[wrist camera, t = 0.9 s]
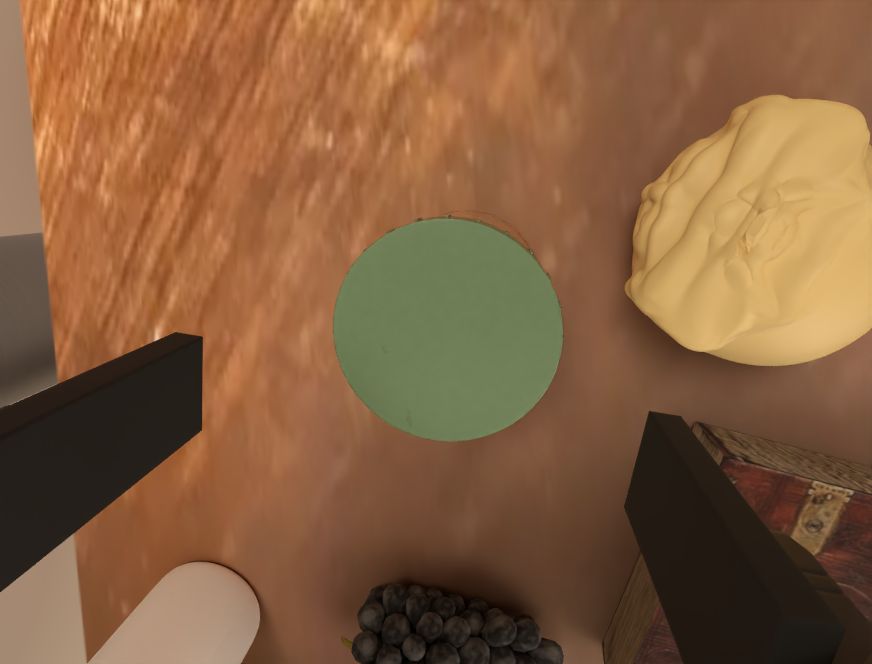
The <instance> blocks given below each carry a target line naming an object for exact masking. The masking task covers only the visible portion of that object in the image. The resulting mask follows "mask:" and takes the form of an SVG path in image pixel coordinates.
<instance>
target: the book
mask: <svg viewBox="0 0 872 664" xmlns="http://www.w3.org/2000/svg"><path fill="white" fill-rule="evenodd" d="M692 432H693V433H694V434H695V435H696V437H697V438H698V439H699V441H700V442H701V443H702V444H703V446H704V447H705V448H706V450H707V451H708V452H709V453H710V455H711V456H712V457H713V459H714V460H715V461H716V462H717V464H718V465H719V466H720V468H721V469H722V470H723V471H724V473H725V474H726V475H727V477H728V478H729V479H730V481H731V482H732V483H733V484H734V486H735V487H736V488H737V490H738V491H739V492H740V493H741V495H742V496H743V497H744V499H745V500H746V501H747V502H748V504H749V505H750V506H751V508H752V509H753V510H754V511H755V513H756V514H757V515H758V517H759V518H760V519H761V520H762V522H763V523H764V524H765V526H766V527H767V528H768V529H769V530H775V531H780V532H784V533H786V534H787V535H788V536H790V537H791V538H792V539H794V540H795V541H796V542H798V543H799V544H800V545H802V546H803V547H804V548H806V549H807V550H808V551H810V552H811V553H812V555H813V556H814V557H815V558H816V559H817V561H818V562H819V563H820V564H821V565H822V566H823V568H824V569H825V570H826V571H827V572H828V577H831V578H833V579H834V581H835V582H836V583H837V584H838V585H839V587H840V588H841V589H842V590H843V595H845V596H848V597H849V598H850V600H851V601H852V602H853V603H854V604H855V606H856V607H857V608H858V609H859V610H860V612H861V613H862V614H863V615H864V616H865V617H866V619H867V620H868V621H869V622H870V623H871V625H872V467H869V466H865V465H861V464H857V463H853V462H850V461H846V460H842V459H838V458H834V457H830V456H826V455H823V454H819V453H815V452H811V451H807V450H803V449H800V448H796V447H792V446H788V445H784V444H780V443H777V442H773V441H769V440H765V439H761V438H757V437H753V436H750V435H746V434H742V433H738V432H734V431H730V430H727V429H723V428H719V427H715V426H711V425H707V424H703V423H700V422H695V424H694V427H693V429H692ZM602 645H603V656H604V663H605V664H683V661H682V659H681V656H680V653H679V651H678V648H677V645H676V643H675V640H674V637H673V635H672V632H671V629H670V627H669V624H668V622H667V619H666V616H665V614H664V611H663V608H662V606H661V603H660V600H659V598H658V595H657V592H656V590H655V587H654V585H653V582H652V579H651V577H650V574H649V571H648V569H647V566H646V563H645V561H644V558H643V555H642V553H640V555H639V558H638V560H637V563H636V565H635V567H634V570H633V572H632V575H631V577H630V579H629V582H628V584H627V586H626V589H625V591H624V594H623V596H622V598H621V601H620V603H619V606H618V608H617V610H616V613H615V615H614V617H613V620H612V622H611V625H610V627H609V629H608V632H607V634H606V636H605V639H604V641H603V644H602Z"/></svg>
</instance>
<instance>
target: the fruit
mask: <svg viewBox="0 0 872 664" xmlns="http://www.w3.org/2000/svg"><path fill="white" fill-rule="evenodd" d="M464 609H465V605H464V602H463V599H462V598H461V597H460V596H459V595H456V594H449V595H448V597H443V596H442V593H441V592H440V591H438V590H437V589H434V588H431V589H429V590H427V591H426V590H425V589H424V588H423V587H421V586H419V585H418V586H410V587H409V588H408V589H406V587H404V586H402V585H400V584H390V585H389V586H388V587H382V586H378V587H376V588H373V589H372V590H371V592H370V594H369V596H368V598H367V599H366V601H365V604H364V605H363V606H361V608H360V610H359V612H358V614H357V615H358V620H359V625H360V629H361V630H362V631H363V632H361V633H359V634H358V635H357V636H356V637H355V638H354V640H353V642H351V641H349V640H347V639H346V638H344V637H342V636H341V639H342V642H343V644H345V645H346V646H347V647H349V648H350V649H352V654H353V656H354V658H355V660H356V661H358V662H360V663H361V664H562V663H563V657H564V655H563V652H562V648H561V646H560V645H558V644H557V643H556V642H555V641H552V640H549V639H545V638H541V632H540V628H539V626H538V624H537V623H536V622H535V621H534V620H533V619H532V618H531V617H530V616H529V615H526V614H521V615H518V616H516V617H515V618H514V619H513V620H512V619H511V618H510V617H509V616H506V615H505V613H504V612H503V611H501V610H500V609H498V608H492V609H491V610H488V605H487V604H486V603H485V601H483V600H482V599H481V598H478V599H472V600H470V602H469V604H468V605H467V608H466V610H465V611H464Z"/></svg>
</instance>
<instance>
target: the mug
mask: <svg viewBox="0 0 872 664" xmlns="http://www.w3.org/2000/svg"><path fill="white" fill-rule="evenodd" d="M259 623H260V609H259V604H258V601H257V598H256V596H255V594H254V592H253V591H252V589H251V588H250V586H249V585H248V584H247V583H246V582H245V581H244V580H243V579H242V578H241V577H240V576H239V575H238V574H236V573H235V572H233V571H231V570H230V569H228V568H226V567H223V566H221V565H218V564H214V563H209V562H192V563H187V564H184V565H181V566H178V567H176V568H175V569H173V570H172V571H170V572H169V573H168V574H166V575H165V576H164V577H163V578H162V579H161V580H160V581H159V582H158V583H157V585H156V586H155V587H154V588H153V589H152V590H151V591H150V592H149V594H148V595H147V596H146V597H145V598H144V599H143V600H142V602H141V603H140V604H139V605H138V606H137V607H136V608H135V610H134V611H133V612H132V613H131V614H130V615H129V616H128V618H127V619H126V620H125V621H124V622H123V623H122V625H121V626H120V627H119V628H118V629H117V630H116V631H115V633H114V634H113V635H112V636H111V637H110V638H109V639H108V641H107V642H106V643H105V644H104V645H103V646H102V647H101V649H100V650H99V651H98V652H97V653H96V654H95V655H94V657H93V658H92V659H91V660H90V661H89V662H88V663H87V664H241V663H242V661H243V659H244V657H245V655H246V654H247V652H248V650H249V648H250V646H251V644H252V642H253V640H254V638H255V636H256V634H257V631H258V628H259Z"/></svg>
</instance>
